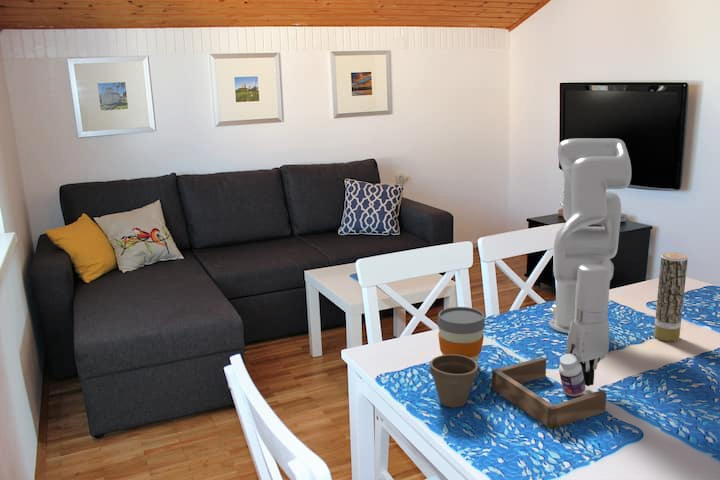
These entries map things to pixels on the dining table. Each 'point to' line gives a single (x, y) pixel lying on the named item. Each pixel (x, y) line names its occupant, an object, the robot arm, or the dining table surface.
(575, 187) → the robot arm
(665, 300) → the brown upright cylinder piece
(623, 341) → the dining table surface
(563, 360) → the pill bottle
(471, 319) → the reusable coffee cup
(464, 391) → the flower pot
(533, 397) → the box
